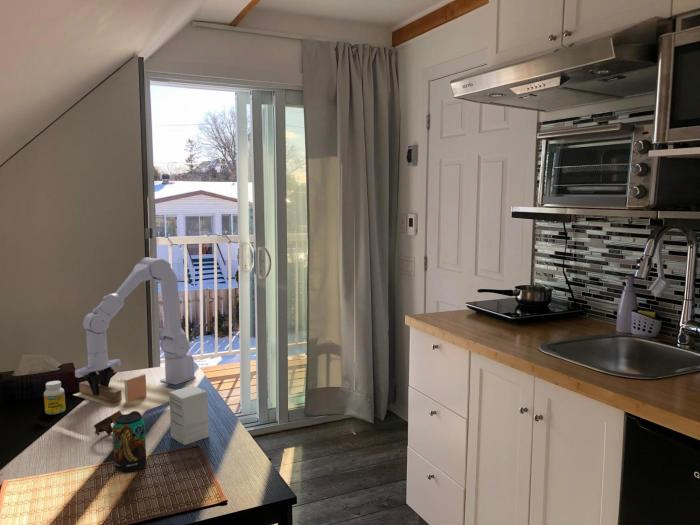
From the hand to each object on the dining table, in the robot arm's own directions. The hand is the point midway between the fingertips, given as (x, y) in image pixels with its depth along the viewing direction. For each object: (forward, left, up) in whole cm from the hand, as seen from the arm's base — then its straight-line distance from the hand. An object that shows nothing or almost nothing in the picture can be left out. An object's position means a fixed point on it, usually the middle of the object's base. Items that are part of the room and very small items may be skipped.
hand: (100, 393), depth 180 cm
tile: (-5, +11, +2) cm, 12 cm away
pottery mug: (+15, +30, -3) cm, 34 cm away
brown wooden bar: (0, 0, -1) cm, 1 cm away
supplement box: (+5, +46, -2) cm, 46 cm away
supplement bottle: (+14, -1, -2) cm, 14 cm away
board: (-7, +6, -2) cm, 10 cm away
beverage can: (+24, +47, -2) cm, 53 cm away
